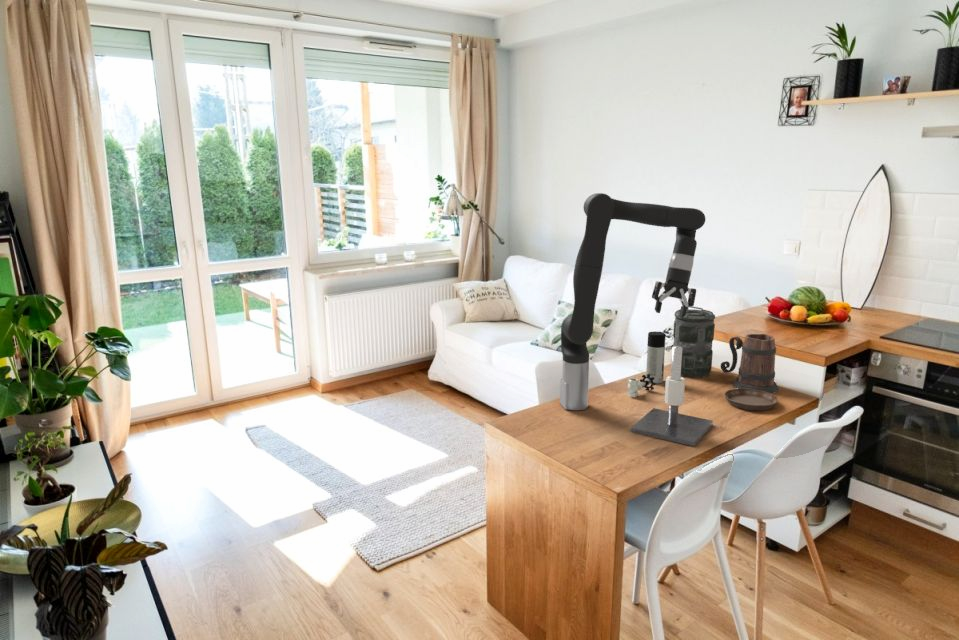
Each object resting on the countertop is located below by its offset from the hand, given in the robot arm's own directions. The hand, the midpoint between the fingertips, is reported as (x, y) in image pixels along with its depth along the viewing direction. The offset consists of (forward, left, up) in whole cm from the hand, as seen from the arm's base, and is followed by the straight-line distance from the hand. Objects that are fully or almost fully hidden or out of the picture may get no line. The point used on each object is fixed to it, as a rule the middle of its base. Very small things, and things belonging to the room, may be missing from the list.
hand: (669, 315), depth 207 cm
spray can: (+10, +28, -34) cm, 45 cm away
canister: (+30, +35, -34) cm, 57 cm away
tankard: (+44, +16, -34) cm, 58 cm away
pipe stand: (-6, -16, -34) cm, 38 cm away
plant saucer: (+32, -2, -34) cm, 47 cm away
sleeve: (-6, -16, -25) cm, 30 cm away
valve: (-2, +16, -34) cm, 38 cm away
